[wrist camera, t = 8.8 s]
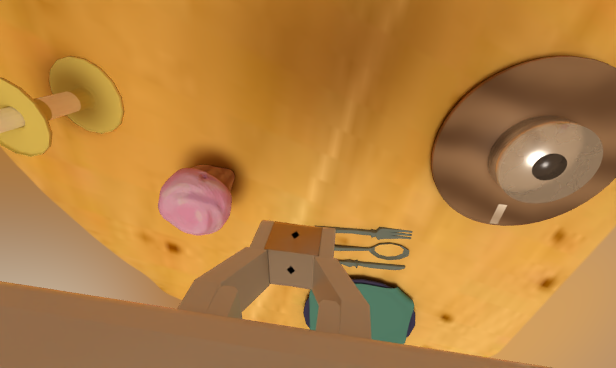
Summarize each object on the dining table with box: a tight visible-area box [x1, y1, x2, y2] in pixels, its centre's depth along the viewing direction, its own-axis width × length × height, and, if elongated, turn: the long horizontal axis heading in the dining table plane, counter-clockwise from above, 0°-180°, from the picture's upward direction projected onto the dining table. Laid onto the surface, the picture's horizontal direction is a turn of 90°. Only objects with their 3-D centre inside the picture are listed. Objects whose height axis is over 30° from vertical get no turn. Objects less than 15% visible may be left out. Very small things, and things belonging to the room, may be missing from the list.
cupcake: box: [158, 165, 235, 235], centre depth 36 cm, size 9×9×10 cm
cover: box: [487, 115, 603, 203], centre depth 29 cm, size 9×9×3 cm
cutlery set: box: [303, 226, 415, 344], centre depth 48 cm, size 20×30×2 cm, turn 1°
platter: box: [431, 56, 616, 226], centre depth 31 cm, size 20×20×1 cm
